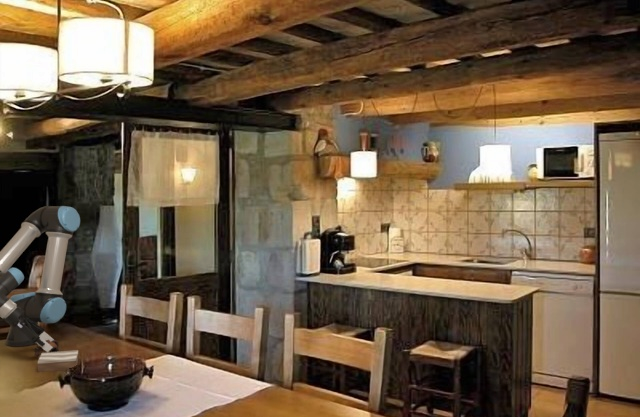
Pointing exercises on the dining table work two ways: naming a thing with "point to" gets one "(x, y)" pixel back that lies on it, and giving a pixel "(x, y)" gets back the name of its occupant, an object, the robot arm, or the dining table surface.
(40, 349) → the brown black arched figure
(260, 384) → the dining table surface
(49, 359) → the pale flat block
